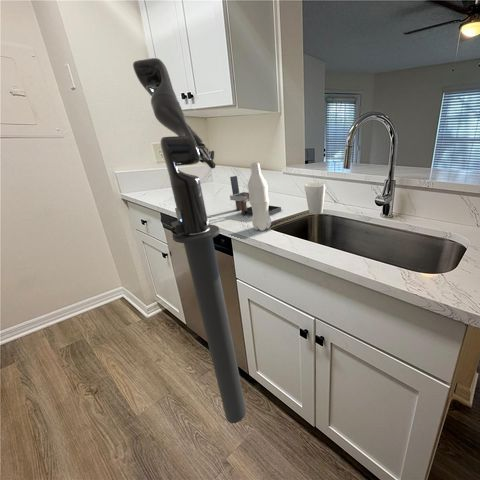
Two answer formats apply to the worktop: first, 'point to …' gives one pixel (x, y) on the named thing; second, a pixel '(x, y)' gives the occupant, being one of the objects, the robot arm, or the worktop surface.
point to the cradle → (241, 206)
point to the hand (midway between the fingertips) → (213, 167)
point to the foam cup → (315, 197)
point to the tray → (271, 210)
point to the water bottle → (259, 198)
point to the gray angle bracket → (237, 191)
